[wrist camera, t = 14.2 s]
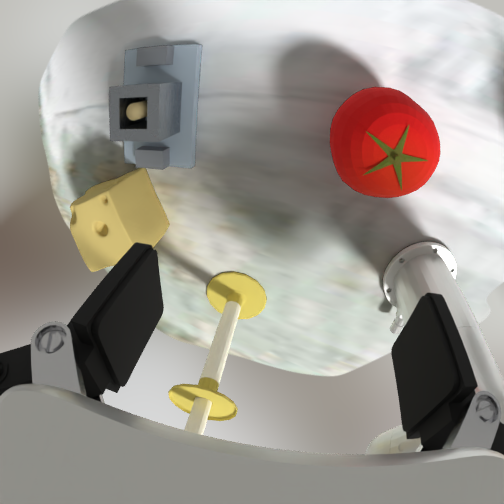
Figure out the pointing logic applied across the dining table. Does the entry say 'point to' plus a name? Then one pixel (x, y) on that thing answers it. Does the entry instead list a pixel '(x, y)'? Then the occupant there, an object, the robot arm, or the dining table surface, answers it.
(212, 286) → the yellow disc stand
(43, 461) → the robot arm
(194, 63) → the stand
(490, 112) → the dining table surface
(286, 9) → the dining table surface
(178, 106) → the brushed steel block
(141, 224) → the cheese
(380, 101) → the tomato
